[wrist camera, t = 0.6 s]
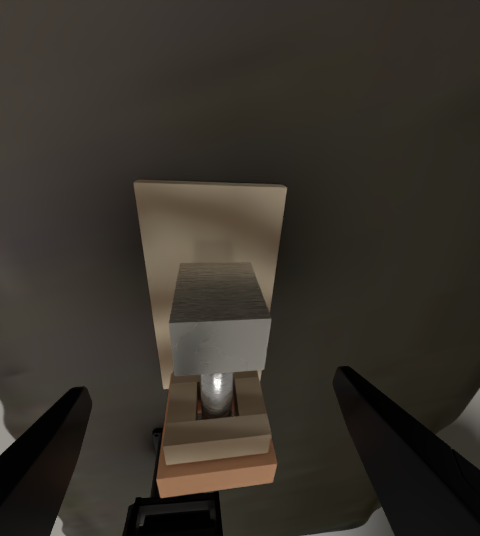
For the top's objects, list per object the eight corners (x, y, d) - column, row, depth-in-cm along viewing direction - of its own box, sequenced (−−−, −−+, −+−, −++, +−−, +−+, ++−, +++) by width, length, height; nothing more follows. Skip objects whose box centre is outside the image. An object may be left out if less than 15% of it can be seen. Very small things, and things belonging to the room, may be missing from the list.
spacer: (253, 385, 22) (272, 482, 16) (173, 392, 21) (160, 498, 15) (255, 367, 21) (277, 463, 15) (170, 373, 20) (156, 479, 14)
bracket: (257, 371, 27) (285, 492, 18) (165, 378, 26) (143, 513, 17) (282, 184, 18) (366, 236, 9) (137, 179, 16) (53, 235, 7)
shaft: (238, 409, 21) (247, 481, 16) (190, 413, 20) (186, 490, 16) (250, 262, 14) (271, 318, 10) (180, 262, 14) (168, 323, 9)
